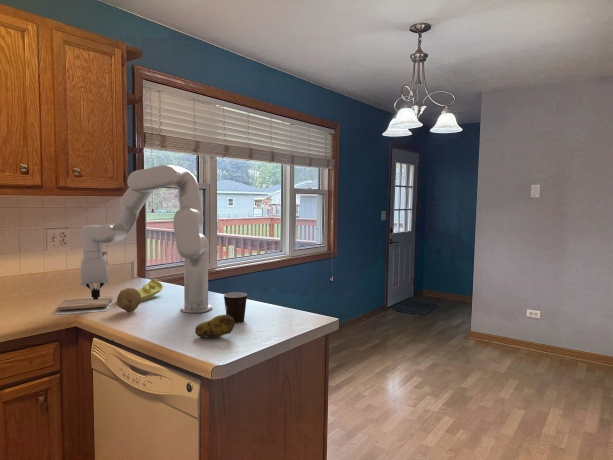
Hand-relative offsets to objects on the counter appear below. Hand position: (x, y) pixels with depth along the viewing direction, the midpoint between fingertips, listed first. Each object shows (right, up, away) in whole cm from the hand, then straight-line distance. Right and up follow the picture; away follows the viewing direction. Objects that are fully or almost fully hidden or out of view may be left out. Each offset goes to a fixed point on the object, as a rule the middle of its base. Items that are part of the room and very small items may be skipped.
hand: (96, 298), depth 178 cm
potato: (+57, -7, -36) cm, 68 cm away
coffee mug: (+61, -6, -18) cm, 64 cm away
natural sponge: (+16, -5, -6) cm, 18 cm away
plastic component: (+12, -3, +18) cm, 22 cm away
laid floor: (-6, -4, +3) cm, 7 cm away
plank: (-5, -3, 0) cm, 6 cm away
